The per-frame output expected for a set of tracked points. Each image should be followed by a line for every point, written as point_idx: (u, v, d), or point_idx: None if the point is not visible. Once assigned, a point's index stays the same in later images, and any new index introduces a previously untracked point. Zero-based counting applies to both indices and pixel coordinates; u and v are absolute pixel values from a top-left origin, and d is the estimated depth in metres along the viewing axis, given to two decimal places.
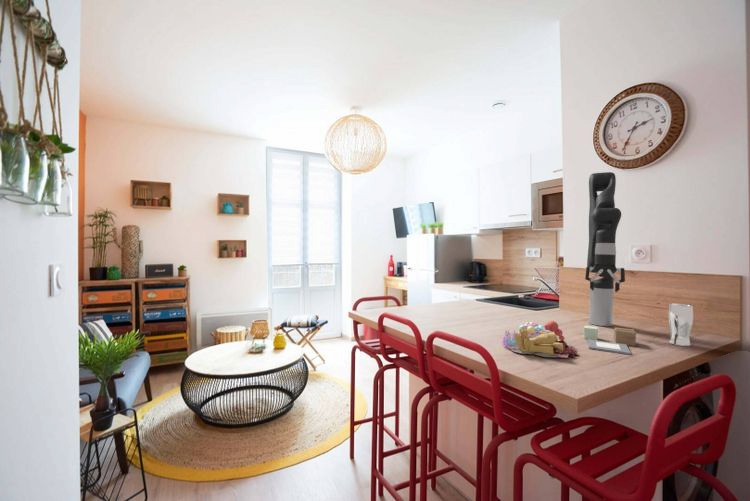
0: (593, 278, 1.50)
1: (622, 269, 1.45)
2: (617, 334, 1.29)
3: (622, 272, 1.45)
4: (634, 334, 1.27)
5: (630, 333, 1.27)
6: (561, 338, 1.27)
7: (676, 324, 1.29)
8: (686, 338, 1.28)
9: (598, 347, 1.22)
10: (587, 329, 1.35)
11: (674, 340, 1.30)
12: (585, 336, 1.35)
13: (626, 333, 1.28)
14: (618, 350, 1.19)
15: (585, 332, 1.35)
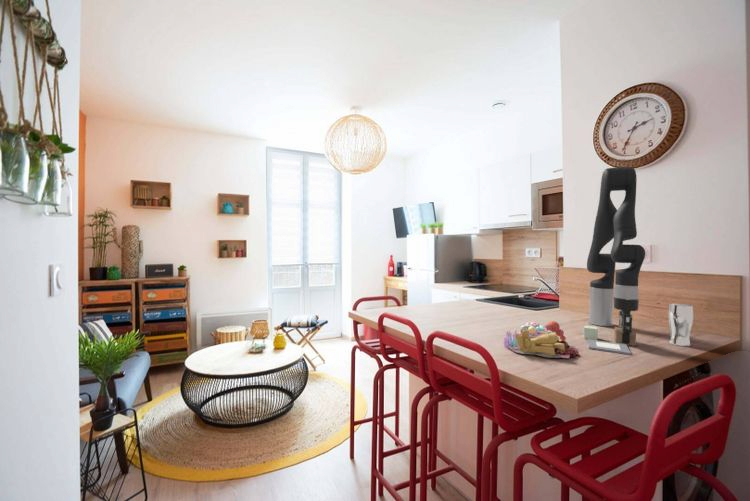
0: None
1: None
2: (617, 334, 1.29)
3: None
4: (634, 334, 1.27)
5: (630, 333, 1.27)
6: (562, 338, 1.27)
7: (676, 324, 1.29)
8: (686, 338, 1.28)
9: (598, 347, 1.22)
10: (587, 329, 1.35)
11: (674, 340, 1.30)
12: (585, 336, 1.35)
13: None
14: (618, 350, 1.19)
15: (585, 332, 1.35)
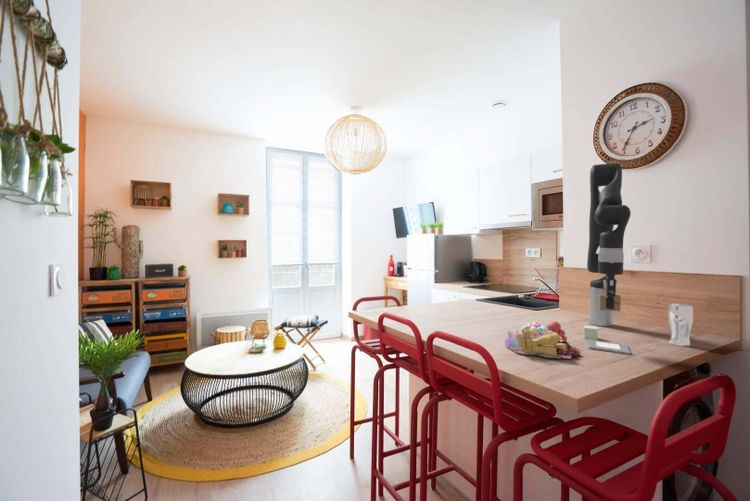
0: (614, 293, 1.21)
1: None
2: (601, 300, 1.23)
3: None
4: (619, 298, 1.20)
5: (615, 298, 1.21)
6: (564, 339, 1.26)
7: (676, 324, 1.29)
8: (686, 338, 1.28)
9: (598, 347, 1.22)
10: (587, 329, 1.35)
11: (674, 340, 1.30)
12: (585, 336, 1.35)
13: None
14: (618, 350, 1.19)
15: (585, 332, 1.35)
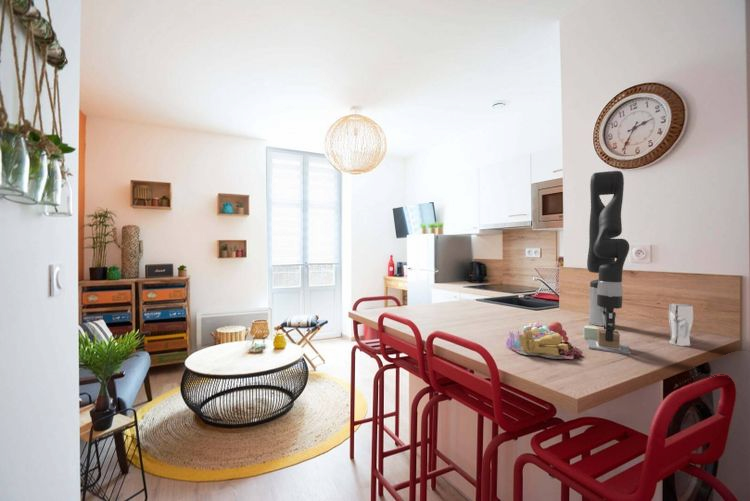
0: None
1: None
2: (600, 336, 1.23)
3: None
4: (618, 336, 1.20)
5: (614, 335, 1.21)
6: (565, 339, 1.26)
7: (676, 324, 1.29)
8: (686, 338, 1.28)
9: (598, 347, 1.22)
10: (587, 329, 1.35)
11: (674, 340, 1.30)
12: (585, 336, 1.35)
13: None
14: (618, 350, 1.19)
15: (585, 332, 1.35)
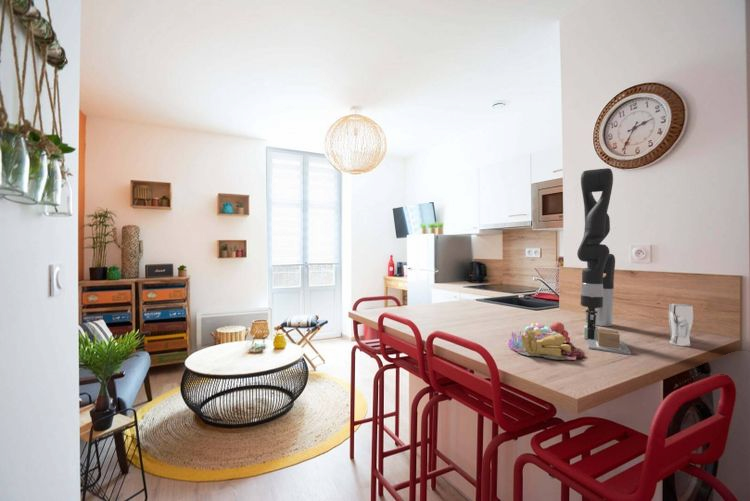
0: (594, 325, 1.33)
1: None
2: (600, 336, 1.23)
3: None
4: (618, 336, 1.20)
5: (614, 335, 1.21)
6: (567, 339, 1.25)
7: (676, 324, 1.29)
8: (686, 338, 1.28)
9: (598, 347, 1.22)
10: (587, 328, 1.35)
11: (674, 340, 1.30)
12: (585, 336, 1.35)
13: (609, 335, 1.22)
14: (618, 350, 1.19)
15: (585, 332, 1.35)
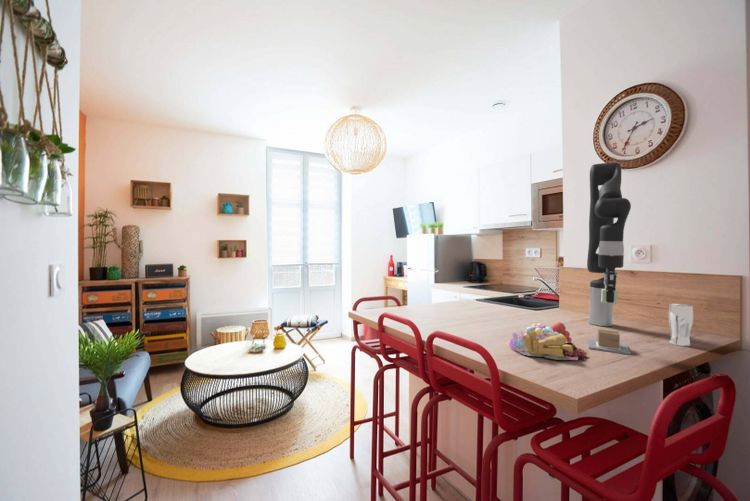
0: (614, 287, 1.21)
1: None
2: (600, 336, 1.23)
3: None
4: (618, 336, 1.20)
5: (614, 335, 1.21)
6: (568, 340, 1.25)
7: (676, 324, 1.29)
8: (686, 338, 1.28)
9: (598, 347, 1.22)
10: (605, 291, 1.23)
11: (674, 340, 1.30)
12: (603, 299, 1.23)
13: (609, 335, 1.22)
14: (618, 350, 1.19)
15: (603, 295, 1.23)
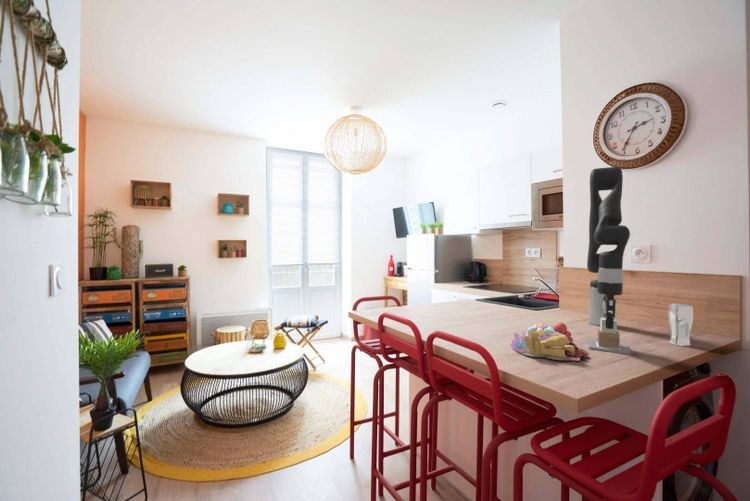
0: None
1: None
2: (600, 336, 1.23)
3: None
4: (618, 336, 1.20)
5: (614, 335, 1.21)
6: (570, 340, 1.25)
7: (676, 324, 1.29)
8: (686, 338, 1.28)
9: (598, 347, 1.22)
10: (605, 321, 1.23)
11: (674, 340, 1.30)
12: (603, 329, 1.23)
13: (609, 335, 1.22)
14: (618, 350, 1.19)
15: (603, 324, 1.23)
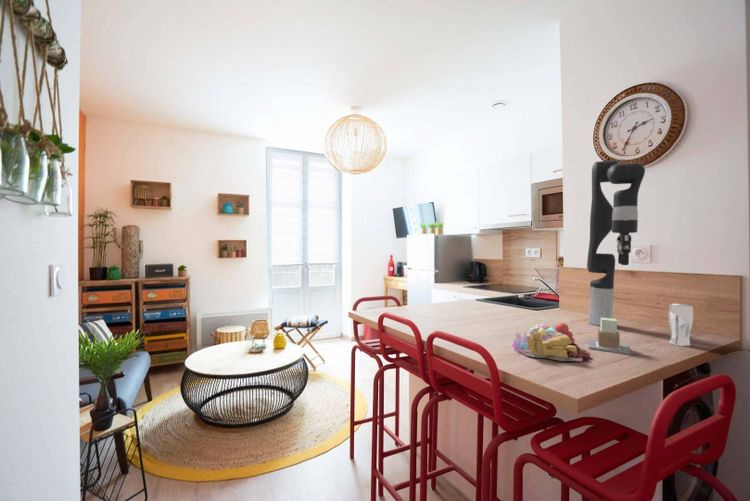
0: None
1: None
2: (600, 336, 1.23)
3: None
4: (618, 336, 1.20)
5: (614, 335, 1.21)
6: (571, 340, 1.24)
7: (676, 324, 1.29)
8: (686, 338, 1.28)
9: (598, 347, 1.22)
10: (605, 321, 1.23)
11: (674, 340, 1.30)
12: (603, 329, 1.23)
13: (609, 335, 1.22)
14: (618, 350, 1.19)
15: (603, 324, 1.23)
